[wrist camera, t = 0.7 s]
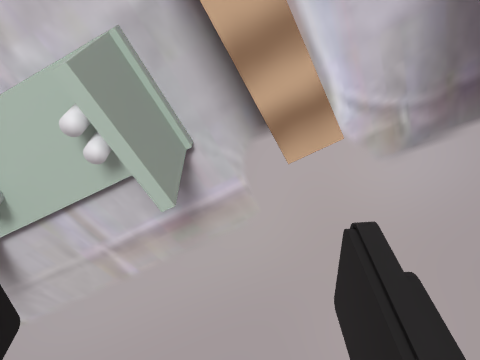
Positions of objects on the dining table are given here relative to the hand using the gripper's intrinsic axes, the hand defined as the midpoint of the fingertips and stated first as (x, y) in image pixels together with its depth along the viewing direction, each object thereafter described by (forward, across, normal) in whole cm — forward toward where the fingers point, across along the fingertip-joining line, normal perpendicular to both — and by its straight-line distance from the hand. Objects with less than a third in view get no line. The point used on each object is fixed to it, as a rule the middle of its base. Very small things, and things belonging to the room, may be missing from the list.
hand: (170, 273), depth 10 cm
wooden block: (+26, -4, -2) cm, 26 cm away
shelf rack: (+25, +17, +9) cm, 32 cm away
